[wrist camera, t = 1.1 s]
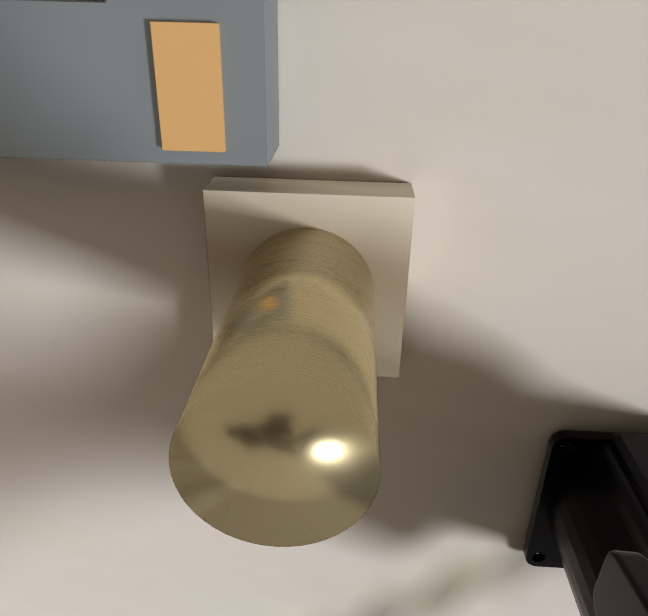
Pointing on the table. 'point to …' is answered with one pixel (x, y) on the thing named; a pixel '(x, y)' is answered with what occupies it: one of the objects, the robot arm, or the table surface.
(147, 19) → the hole plate
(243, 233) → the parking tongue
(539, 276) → the table surface
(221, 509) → the brass peg
